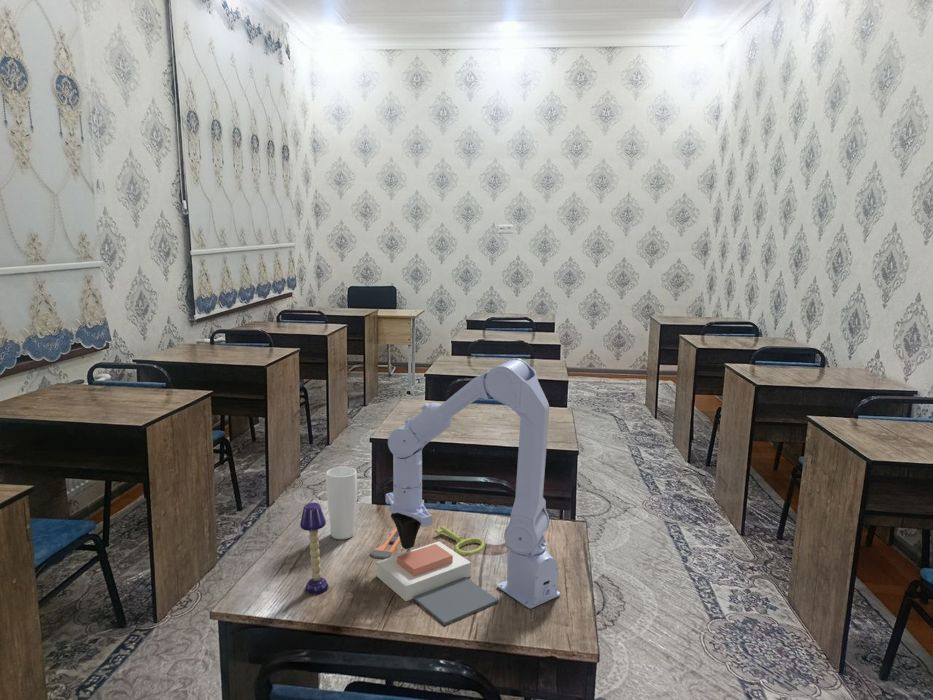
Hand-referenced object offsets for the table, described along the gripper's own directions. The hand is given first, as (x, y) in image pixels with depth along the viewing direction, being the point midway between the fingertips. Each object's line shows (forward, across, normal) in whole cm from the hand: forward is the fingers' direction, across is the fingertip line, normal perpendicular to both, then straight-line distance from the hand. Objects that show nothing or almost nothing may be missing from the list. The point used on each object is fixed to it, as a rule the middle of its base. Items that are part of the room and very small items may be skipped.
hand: (407, 546), depth 127 cm
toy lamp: (+4, -3, -19) cm, 20 cm away
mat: (+4, +17, 0) cm, 17 cm away
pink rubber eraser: (+1, +6, 0) cm, 6 cm away
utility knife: (+4, -12, +3) cm, 13 cm away
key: (+4, -1, +14) cm, 15 cm away
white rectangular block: (+4, +6, 0) cm, 7 cm away
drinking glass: (+4, -20, -5) cm, 21 cm away
